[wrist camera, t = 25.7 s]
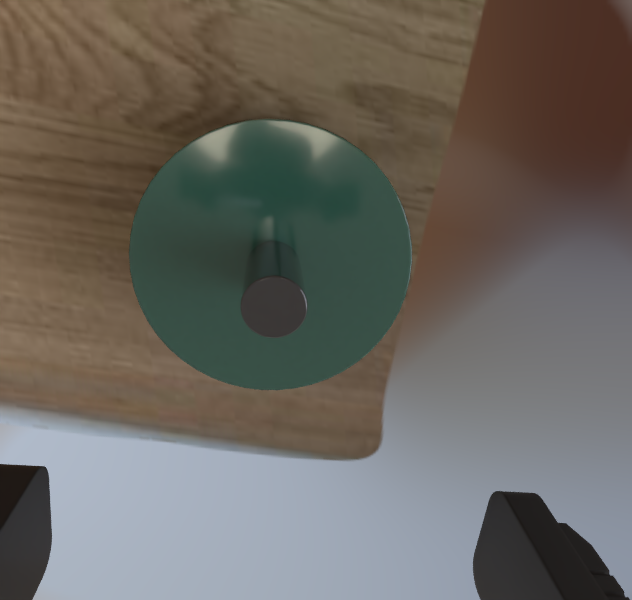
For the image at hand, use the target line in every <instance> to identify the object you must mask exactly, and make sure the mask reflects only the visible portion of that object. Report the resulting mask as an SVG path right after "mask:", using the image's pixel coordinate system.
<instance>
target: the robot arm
mask: <svg viewBox="0 0 632 600" xmlns="http://www.w3.org/2000/svg"><path fill="white" fill-rule="evenodd" d="M51 542H52V529H51V510H50V491H49V475H48V471H47V469H46V467H44V466H26V465H6V464H0V600H32V599H33V597H34V595H35V593H36V591H37V588H38V586H39V584H40V582H41V580H42V578H43V575H44V573H45V570H46V567H47V564H48V560H49V555H50V551H51ZM473 573H474V580H475V585H476V588H477V592H478V594H479V597H480V599H481V600H630V599H629V598H628V597H625V596H624V591H623V589H622V588H621V586H620V585H619V584H618V583H617V581H616V579H615V578H614V577H613V576H610V575H609V570H608V568H607V567H606V565H605V564H604V562H603V561H602V559H601V558H600V557H599V555H598V554H597V552H596V551H595V550H594V548H593V547H592V545H591V544H589V543H588V542H587V541H586V540H585V539H584V538H582V537H581V536H580V535H579V534H578V533H577V532H575V531H574V530H573V529H572V528H571V527H570V526H568V525H567V524H566V523H558V522H557V521H556V519H555V518H554V516H553V515H552V513H551V512H550V511H549V509H548V507H547V506H546V504H545V503H544V502H543V500H542V499H541V497H540V496H539V495H537V494H535V493H522V492H502V491H496V492H494V493H493V494H492V495H491V497H490V500H489V503H488V506H487V510H486V513H485V517H484V521H483V524H482V528H481V531H480V535H479V538H478V542H477V546H476V549H475V553H474V559H473Z"/></svg>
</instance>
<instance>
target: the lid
mask: <svg viewBox="0 0 632 600" xmlns="http://www.w3.org/2000/svg"><path fill="white" fill-rule="evenodd" d="M129 261H130V273H131V278H132V283H133V287H134V291H135V294H136V296H137V299H138V302H139V305H140V307H141V309H142V311H143V313H144V315H145V317H146V319H147V321H148V322H149V324H150V325H151V327H152V328H153V330H154V331H155V333H156V334H157V335H158V337H159V338H160V339H161V340H162V341H163V342H164V343H165V344H166V346H167V347H168V348H169V349H170V350H171V351H172V352H174V353H175V354H176V355H177V356H178V357H179V358H180V359H182V360H183V361H184V362H186V363H187V364H189V365H190V366H192V367H193V368H195V369H196V370H198V371H200V372H202V373H204V374H206V375H208V376H210V377H212V378H214V379H217V380H219V381H222V382H225V383H227V384H231V385H235V386H239V387H244V388H251V389H259V390H283V389H293V388H298V387H303V386H307V385H312V384H315V383H317V382H320V381H323V380H326V379H328V378H331V377H333V376H335V375H337V374H339V373H341V372H343V371H344V370H346V369H347V368H349V367H351V366H352V365H354V364H355V363H357V362H358V361H359V360H360V359H362V358H363V357H364V356H365V355H366V354H368V353H369V352H370V351H371V350H372V349H373V348H374V347H375V346H376V345H377V343H378V342H379V341H380V340H381V339H382V338H383V336H384V335H385V334H386V332H387V331H388V330H389V328H390V327H391V325H392V324H393V322H394V320H395V318H396V316H397V315H398V313H399V311H400V308H401V306H402V303H403V301H404V298H405V296H406V292H407V288H408V284H409V281H410V274H411V266H412V243H411V236H410V230H409V225H408V221H407V218H406V215H405V211H404V208H403V206H402V204H401V202H400V200H399V197H398V195H397V193H396V191H395V190H394V188H393V186H392V185H391V183H390V182H389V180H388V179H387V177H386V176H385V175H384V173H383V172H382V171H381V170H380V169H379V167H378V166H377V165H376V164H375V163H374V162H373V161H372V160H371V159H370V158H369V157H368V156H367V155H366V154H364V153H363V152H362V151H361V150H360V149H359V148H357V147H356V146H354V145H353V144H351V143H350V142H348V141H347V140H345V139H344V138H342V137H340V136H338V135H336V134H334V133H332V132H330V131H328V130H326V129H324V128H321V127H318V126H315V125H312V124H309V123H305V122H300V121H295V120H290V119H276V118H262V119H250V120H244V121H240V122H235V123H231V124H227V125H225V126H222V127H219V128H217V129H214V130H211V131H209V132H207V133H206V134H204V135H202V136H200V137H198V138H196V139H195V140H193V141H191V142H190V143H189V144H187V145H186V146H184V147H183V148H182V149H180V150H179V151H178V152H176V153H175V154H174V155H173V156H172V157H171V158H170V159H169V160H168V161H167V162H166V163H165V164H164V165H163V166H162V167H161V169H160V170H159V171H158V173H157V174H156V175H155V177H154V178H153V179H152V180H151V182H150V183H149V185H148V187H147V189H146V191H145V193H144V194H143V196H142V198H141V200H140V203H139V206H138V208H137V211H136V213H135V216H134V220H133V225H132V229H131V234H130V246H129Z"/></svg>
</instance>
